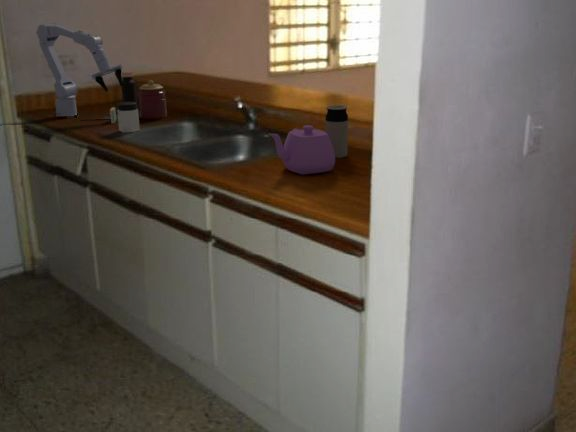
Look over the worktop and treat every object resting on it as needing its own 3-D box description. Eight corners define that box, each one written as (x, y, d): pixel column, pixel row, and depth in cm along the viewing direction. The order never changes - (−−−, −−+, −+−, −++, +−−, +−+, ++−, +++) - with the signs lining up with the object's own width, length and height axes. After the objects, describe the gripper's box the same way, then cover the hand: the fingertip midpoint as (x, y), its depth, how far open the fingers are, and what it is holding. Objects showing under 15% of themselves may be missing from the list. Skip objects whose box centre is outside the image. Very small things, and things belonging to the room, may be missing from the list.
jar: (117, 130, 298) (114, 102, 294) (134, 127, 302) (132, 101, 298) (123, 133, 291) (121, 105, 287) (141, 131, 295) (139, 103, 291)
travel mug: (349, 157, 244) (350, 108, 238) (327, 158, 243) (328, 108, 237) (344, 152, 252) (345, 104, 246) (323, 153, 251) (323, 105, 245)
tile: (111, 123, 314) (110, 110, 312) (113, 120, 321) (111, 107, 319) (114, 123, 314) (113, 110, 312) (116, 120, 321) (115, 107, 319)
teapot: (314, 159, 243) (314, 117, 238) (342, 173, 225) (342, 128, 220) (255, 166, 235) (253, 123, 230) (278, 181, 216) (278, 135, 211)
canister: (152, 120, 318) (149, 82, 312) (134, 117, 326) (131, 80, 320) (172, 116, 328) (170, 79, 322) (154, 113, 335) (151, 77, 330)
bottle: (121, 113, 337) (117, 72, 331) (128, 111, 343) (124, 71, 337) (133, 114, 335) (129, 73, 329) (140, 111, 341) (136, 71, 335)
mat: (80, 120, 320) (80, 119, 320) (84, 115, 334) (84, 114, 333) (119, 119, 323) (119, 118, 323) (122, 113, 336) (121, 113, 336)
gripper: (88, 64, 309) (101, 92, 311) (118, 54, 315) (130, 81, 317) (86, 67, 315) (98, 95, 317) (115, 57, 321) (127, 84, 323)
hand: (114, 88), depth 318 cm, fingers open, 7 cm apart
